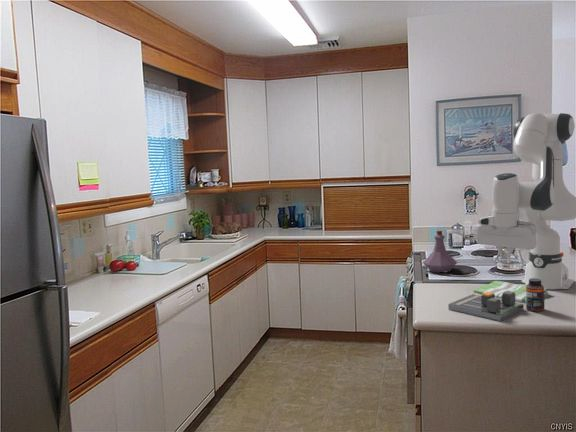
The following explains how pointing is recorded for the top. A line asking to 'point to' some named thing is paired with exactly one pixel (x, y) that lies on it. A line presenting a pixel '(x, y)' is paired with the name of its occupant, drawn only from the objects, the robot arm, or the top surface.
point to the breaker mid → (486, 297)
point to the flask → (439, 256)
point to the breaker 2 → (508, 298)
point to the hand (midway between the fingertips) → (505, 259)
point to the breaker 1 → (493, 305)
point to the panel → (484, 308)
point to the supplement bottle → (535, 295)
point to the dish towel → (502, 287)
